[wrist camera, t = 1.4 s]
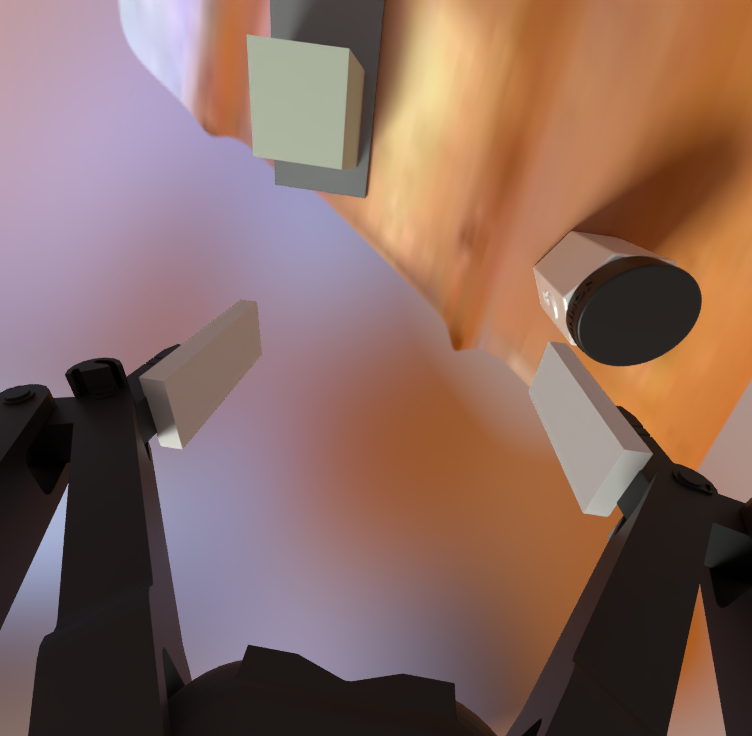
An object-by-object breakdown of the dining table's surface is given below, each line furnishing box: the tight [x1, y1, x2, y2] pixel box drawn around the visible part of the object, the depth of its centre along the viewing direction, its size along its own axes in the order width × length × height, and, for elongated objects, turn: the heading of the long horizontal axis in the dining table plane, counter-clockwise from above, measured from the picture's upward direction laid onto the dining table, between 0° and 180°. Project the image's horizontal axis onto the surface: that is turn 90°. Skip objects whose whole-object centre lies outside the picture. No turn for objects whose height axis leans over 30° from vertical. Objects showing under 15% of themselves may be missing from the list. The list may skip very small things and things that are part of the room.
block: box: [247, 35, 365, 170], centre depth 28 cm, size 7×7×7 cm
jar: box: [533, 231, 702, 366], centre depth 30 cm, size 9×8×12 cm
